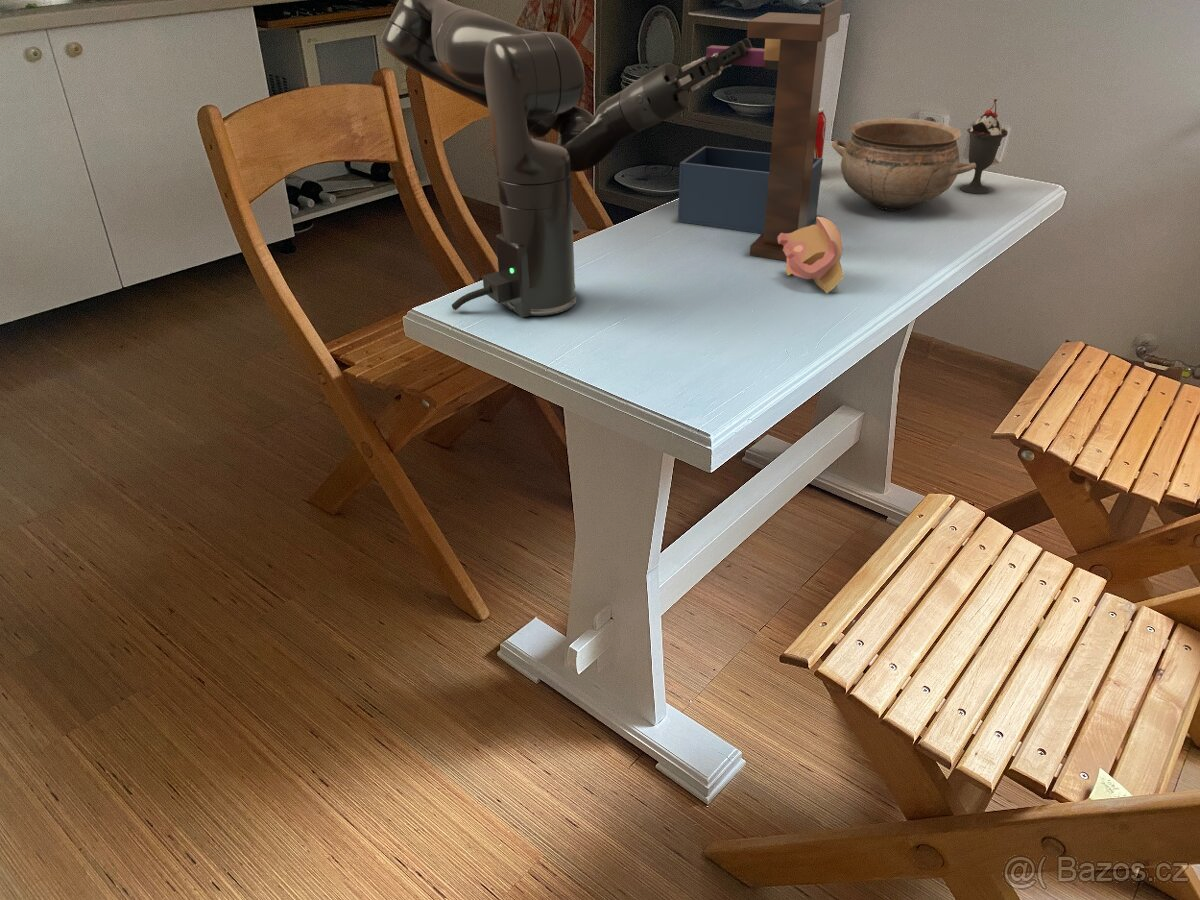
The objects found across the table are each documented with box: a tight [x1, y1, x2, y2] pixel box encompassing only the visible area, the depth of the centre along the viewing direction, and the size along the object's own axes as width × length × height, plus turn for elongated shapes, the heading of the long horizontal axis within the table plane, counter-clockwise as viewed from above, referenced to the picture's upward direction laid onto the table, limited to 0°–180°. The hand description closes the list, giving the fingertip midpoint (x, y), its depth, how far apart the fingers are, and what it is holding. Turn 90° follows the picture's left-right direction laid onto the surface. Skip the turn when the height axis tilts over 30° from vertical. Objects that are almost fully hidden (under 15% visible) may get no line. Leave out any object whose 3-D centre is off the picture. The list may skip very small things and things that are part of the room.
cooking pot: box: [831, 117, 976, 212], centre depth 150 cm, size 25×19×12 cm
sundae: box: [959, 98, 1009, 195], centre depth 155 cm, size 7×7×15 cm
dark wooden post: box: [746, 0, 843, 262], centre depth 127 cm, size 10×9×34 cm
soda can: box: [814, 105, 827, 158], centre depth 165 cm, size 7×7×12 cm
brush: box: [706, 39, 781, 71], centre depth 134 cm, size 16×5×4 cm, turn 64°
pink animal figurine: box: [778, 216, 844, 294], centre depth 124 cm, size 9×10×10 cm
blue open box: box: [677, 145, 824, 235], centre depth 145 cm, size 20×11×10 cm, turn 64°
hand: (747, 46), depth 134 cm, fingers closed on brush, 2 cm apart
